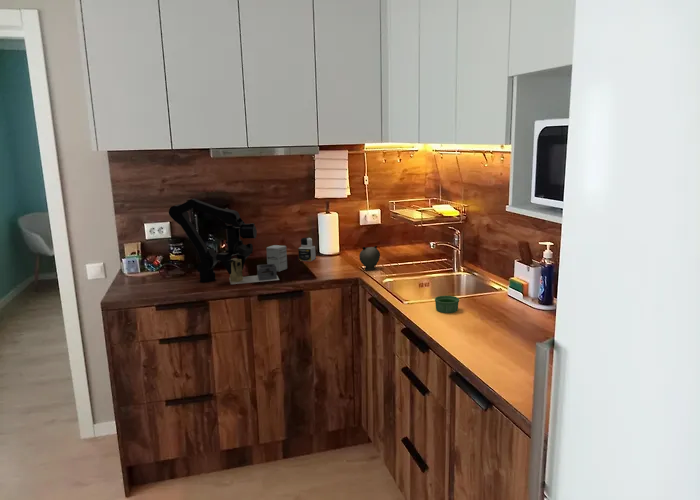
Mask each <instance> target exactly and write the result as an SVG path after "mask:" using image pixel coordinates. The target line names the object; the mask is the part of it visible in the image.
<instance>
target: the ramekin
mask: <svg viewBox="0 0 700 500" xmlns="http://www.w3.org/2000/svg"><path fill="white" fill-rule="evenodd" d="M434 302H435V303H434V304H435V310H436V311H437V312H438V313H440V314H441V313H442V314H453V313H457V312H458V310H459V302H460V298H459V297H457V296H454V295H439V296H435V298H434Z"/></svg>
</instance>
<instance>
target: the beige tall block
mask: <svg viewBox="0 0 700 500" xmlns="http://www.w3.org/2000/svg"><path fill="white" fill-rule="evenodd" d="M231 260H233V261H232V263H231V274H229V278H230V279H229V282H230V281H233V282H239V281H241V280H243V277H244V276H243V275H244V274H243V270H242V261H241V259H238V258H237V257H234V258H233V257H232V258H231Z"/></svg>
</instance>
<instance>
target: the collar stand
mask: <svg viewBox="0 0 700 500" xmlns="http://www.w3.org/2000/svg"><path fill="white" fill-rule="evenodd" d="M256 271H257V274H256V276H257V275H258V279H259V281H260V280H271V279H277V276H278V274H277V271H276V266H275V265H274V264H257V265H256Z"/></svg>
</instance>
